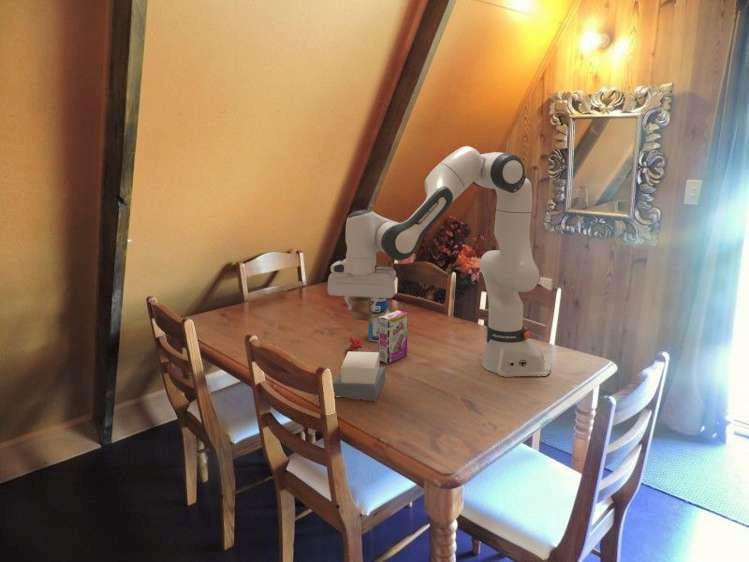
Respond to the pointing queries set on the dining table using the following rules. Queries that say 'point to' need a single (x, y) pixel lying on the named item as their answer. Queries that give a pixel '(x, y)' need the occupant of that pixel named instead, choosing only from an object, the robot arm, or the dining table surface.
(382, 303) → the beverage bottle
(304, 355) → the dining table surface
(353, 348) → the bird rattle
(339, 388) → the tower base
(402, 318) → the candy bar box
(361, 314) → the walnut block
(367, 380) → the tower top
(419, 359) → the dining table surface
